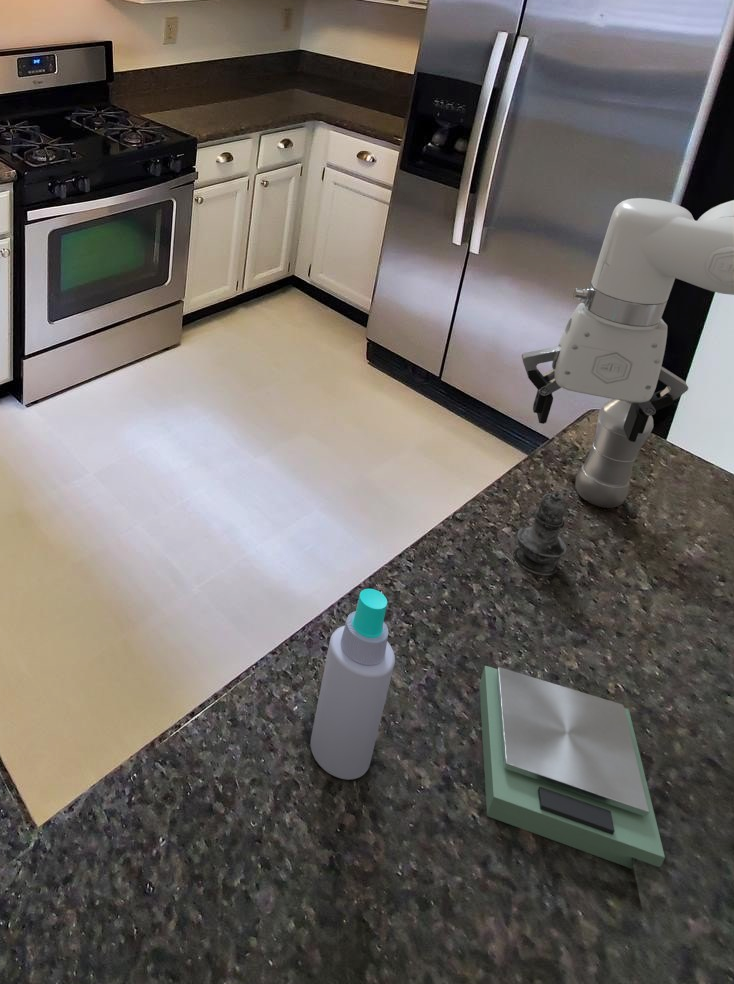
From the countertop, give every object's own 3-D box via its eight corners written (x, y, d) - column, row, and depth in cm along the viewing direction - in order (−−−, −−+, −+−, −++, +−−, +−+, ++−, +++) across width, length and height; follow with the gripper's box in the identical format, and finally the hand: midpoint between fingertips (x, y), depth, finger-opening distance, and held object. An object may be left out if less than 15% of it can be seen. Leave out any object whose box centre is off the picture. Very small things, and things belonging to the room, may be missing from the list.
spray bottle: (297, 741, 85) (326, 587, 76) (339, 718, 87) (372, 566, 78) (338, 792, 80) (374, 634, 71) (382, 765, 82) (422, 609, 73)
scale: (620, 727, 86) (630, 705, 85) (655, 877, 73) (667, 853, 71) (479, 683, 91) (486, 661, 90) (486, 816, 78) (495, 792, 76)
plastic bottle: (581, 479, 125) (617, 369, 116) (629, 501, 120) (671, 389, 112) (564, 496, 121) (601, 384, 113) (613, 520, 116) (656, 405, 108)
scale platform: (621, 709, 84) (623, 704, 84) (646, 817, 74) (649, 812, 74) (496, 671, 89) (498, 666, 88) (504, 768, 79) (506, 763, 78)
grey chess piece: (512, 540, 112) (533, 471, 107) (560, 555, 110) (583, 486, 105) (509, 566, 108) (531, 496, 103) (559, 583, 105) (583, 512, 100)
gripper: (544, 305, 92) (509, 427, 99) (723, 332, 86) (673, 460, 93) (536, 280, 99) (504, 396, 106) (703, 304, 93) (657, 426, 100)
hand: (584, 426), depth 100 cm, fingers open, 9 cm apart
